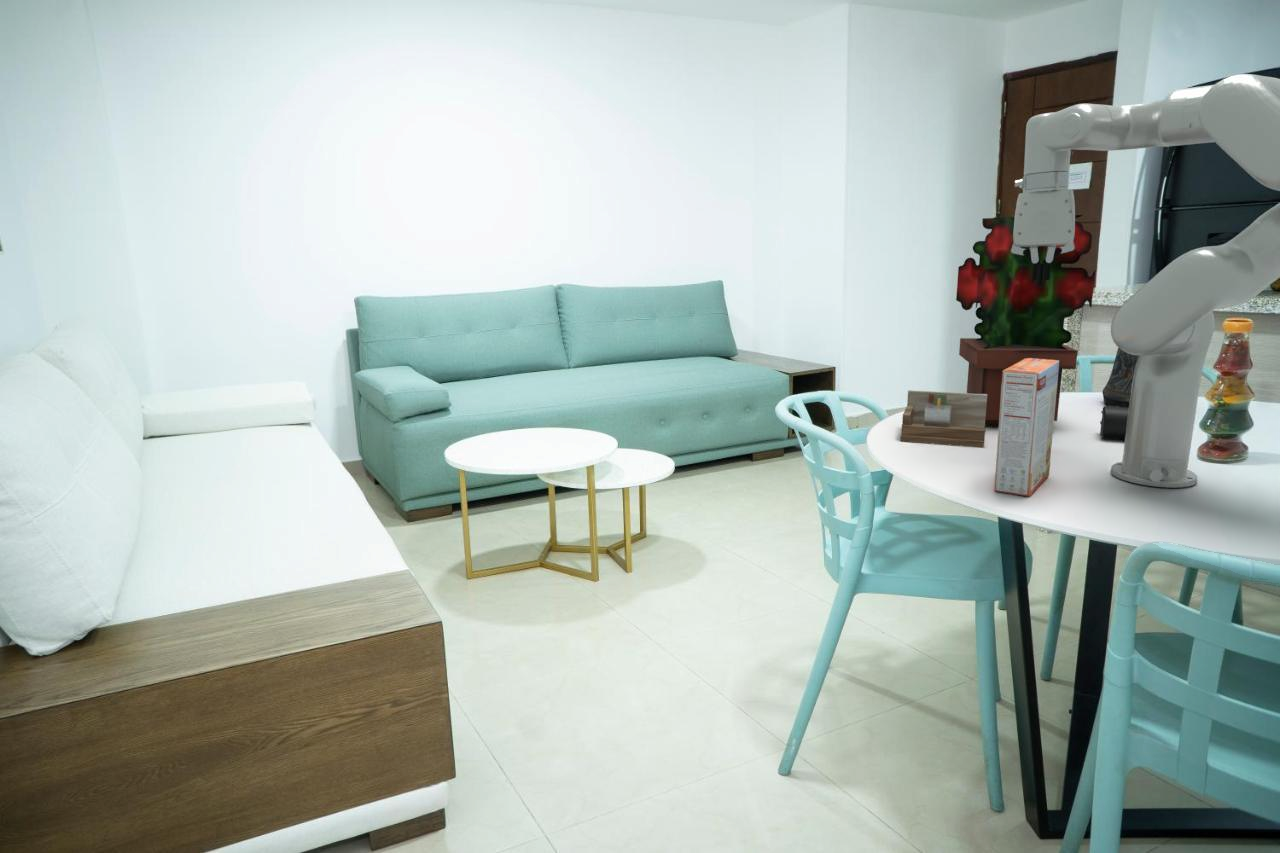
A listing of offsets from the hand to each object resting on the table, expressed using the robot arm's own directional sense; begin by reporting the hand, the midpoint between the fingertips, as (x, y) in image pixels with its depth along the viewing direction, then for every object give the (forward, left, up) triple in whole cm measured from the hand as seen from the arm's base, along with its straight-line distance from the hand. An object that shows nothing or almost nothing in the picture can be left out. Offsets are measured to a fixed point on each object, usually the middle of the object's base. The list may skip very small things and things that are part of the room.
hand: (1040, 284), depth 149 cm
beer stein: (+47, -27, -33) cm, 64 cm away
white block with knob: (+4, +17, -31) cm, 35 cm away
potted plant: (+23, +3, -32) cm, 40 cm away
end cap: (+13, -19, -33) cm, 40 cm away
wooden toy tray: (+4, +16, -32) cm, 36 cm away
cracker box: (-26, +2, -33) cm, 41 cm away
